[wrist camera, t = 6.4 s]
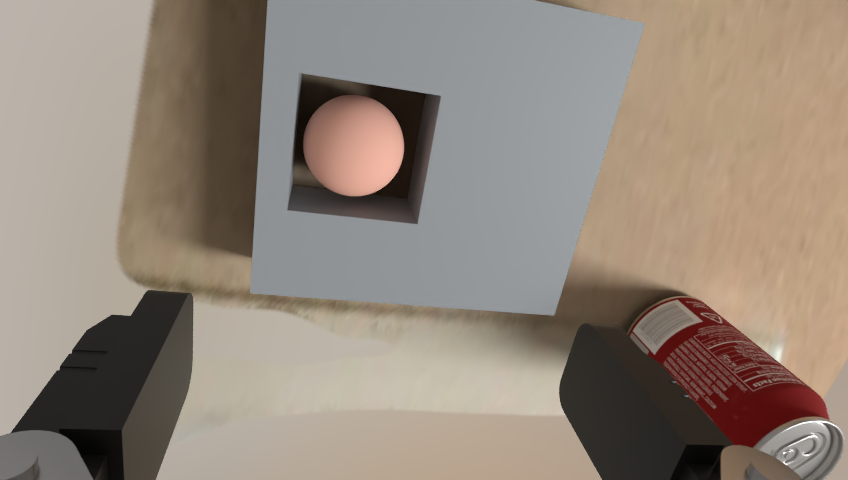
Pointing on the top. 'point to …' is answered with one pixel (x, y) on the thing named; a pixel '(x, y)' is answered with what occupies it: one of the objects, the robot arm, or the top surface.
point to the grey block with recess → (443, 150)
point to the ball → (353, 145)
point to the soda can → (740, 385)
